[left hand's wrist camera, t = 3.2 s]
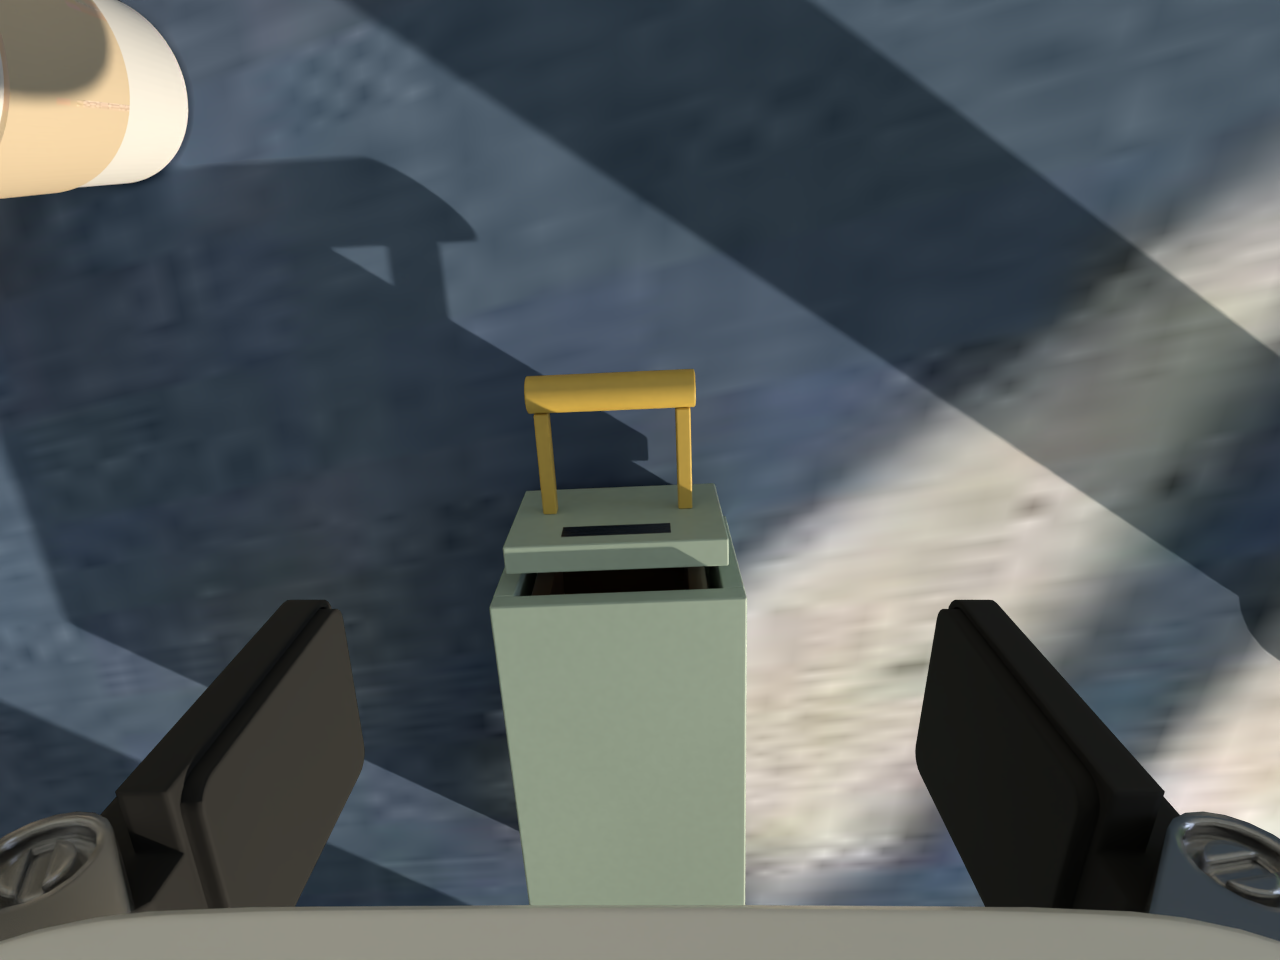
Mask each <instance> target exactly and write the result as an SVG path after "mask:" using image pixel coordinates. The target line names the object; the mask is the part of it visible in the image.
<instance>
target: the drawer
mask: <svg viewBox="0 0 1280 960" xmlns="http://www.w3.org/2000/svg"><path fill="white" fill-rule="evenodd" d="M524 396H525V405H526V409H527V412H528V413H529V414H534V426H535V436H536V446H537V456H538V466H539V476H540V486H541V491H526V493H525V495H524V497H523V500H522V502H521V505H520V507H519V510H518V512H517V515H516V517H515V519H514V522H513V524H512V527H511V529H510V532H509V534H508V536H507V539H506V541H505V544H504V546H503V554H504V562H505V571H506V574H520V573H538V574H537V577H536V581H535V584H534V588H533V591H532V595H531V596H538V595H564V594H590V593H616V592H642V591H668V590H694V589H708V584H707V578H706V572H705V566H725V565H728V564H729V539H728V535H727V531H726V527H725V523H724V519H723V515H722V511H721V507H720V504H719V500H718V496H717V492H716V488H715V484H713V483H710V484H692V463H691V418H690V407H694V406H695V403H696V387H695V373H694V369H680V370H657V371H635V372H612V373H590V374H567V375H545V376H527V377H526V378H525V383H524ZM652 408H675V421H676V454H677V485H662V486H638V487H613V488H589V489H565V490H557V489H556V478H555V467H554V456H553V446H552V435H551V424H550V413H560V412H583V411H606V410H629V409H652Z"/></svg>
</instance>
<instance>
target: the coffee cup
mask: <svg viewBox="0 0 1280 960" xmlns="http://www.w3.org/2000/svg"><path fill="white" fill-rule="evenodd" d="M187 120H188V99H187V92H186V86H185V82H184V78H183V75H182V72H181V70H180V67H179V65H178V62H177V60H176V58H175V56H174V54H173V52H172V51H171V49H170V47H169V46H168V44H167V43H166V41H165V40H164V39H163V37H162V36H161V35H160V33H159V32H158V31H157V30H156V29H155V28H154V27H153V25H152V24H151V23H150V22H148V21H147V20H146V19H145V18H144V17H143V16H142V15H140V14H139V13H138V12H137V11H135V10H134V9H132V8H131V7H129V6H127V5H126V4H124V3H122V2H120V1H118V0H0V199H2V198H11V197H21V196H31V195H41V194H50V193H59V192H64V191H68V190H72V189H75V188H77V187H89V186H101V185H112V184H124V183H133V182H137V181H141V180H144V179H146V178H149V177H151V176H153V175H155V174H156V173H158V172H159V171H160V170H162V169H163V168H164V167H165V166H166V165H167V164H168V163H169V162H170V161H171V160H172V159H173V157H174V156H175V154H176V153H177V151H178V149H179V147H180V145H181V143H182V141H183V138H184V135H185V131H186V127H187Z"/></svg>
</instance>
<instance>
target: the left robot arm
mask: <svg viewBox="0 0 1280 960" xmlns="http://www.w3.org/2000/svg"><path fill="white" fill-rule="evenodd" d="M364 751H365V750H364V742H363V736H362V730H361V724H360V718H359V712H358V706H357V700H356V694H355V688H354V682H353V676H352V670H351V664H350V658H349V652H348V646H347V640H346V634H345V628H344V622H343V617H342V614H341V612H340V610H338V609H331V606H330V604H329V602H328V601H326V600H287V601H286V602H284V603H283V604H282V605H281V606H280V607H279V609H278V610H277V611H276V612H275V613H274V614H273V615H272V616H271V618H270V619H269V620H268V621H267V622H266V623H265V624H264V625H263V626H262V628H261V629H260V630H259V631H258V632H257V633H256V634H255V635H254V637H253V638H252V639H251V640H250V641H249V642H248V643H247V644H246V646H245V647H244V648H243V649H242V650H241V651H240V652H239V653H238V655H237V656H236V657H235V658H234V659H233V660H232V661H231V662H230V664H229V665H228V666H227V667H226V668H225V669H224V670H223V671H222V673H221V674H220V675H219V676H218V677H217V678H216V679H215V680H214V681H213V683H212V684H211V685H210V686H209V687H208V688H207V689H206V690H205V692H204V693H203V694H202V695H201V696H200V697H199V698H198V699H197V701H196V702H195V703H194V704H193V705H192V706H191V707H190V708H189V710H188V711H187V712H186V713H185V714H184V715H183V716H182V717H181V719H180V720H179V721H178V722H177V723H176V724H175V725H174V726H173V728H172V729H171V730H170V731H169V732H168V733H167V734H166V735H165V736H164V738H163V739H162V740H161V741H160V742H159V743H158V744H157V745H156V747H155V748H154V749H153V750H152V751H151V752H150V753H149V754H148V756H147V757H146V758H145V759H144V760H143V761H142V762H141V763H140V765H139V766H138V767H137V768H136V769H135V770H134V771H133V772H132V774H131V775H130V776H129V777H128V778H127V779H126V780H125V781H124V782H123V784H122V785H121V786H120V787H119V788H118V789H117V790H116V791H115V793H116V796H117V797H116V798H115V799H114V800H113V801H112V802H111V803H110V805H109V806H108V807H107V808H106V809H105V810H104V811H103V813H102V814H101V815H98V814H96V813H89V812H71V813H65V814H58V815H54V816H51V817H48V818H44V819H41V820H38V821H35V822H32V823H30V824H28V825H26V826H24V827H22V828H19V829H17V830H15V831H13V832H11V833H9V834H7V835H5V836H4V837H2V838H1V839H0V960H1280V839H1279V838H1278V837H1276V836H1275V835H1273V834H1271V833H1269V832H1267V831H1265V830H1263V829H1261V828H1258V827H1256V826H1254V825H1252V824H1250V823H1248V822H1245V821H1242V820H1239V819H1236V818H1232V817H1229V816H1226V815H1222V814H1215V813H1209V812H1191V813H1184V814H1182V815H1179V814H1178V813H1177V811H1176V810H1175V809H1174V808H1173V807H1172V806H1171V805H1170V803H1169V802H1168V801H1167V800H1166V799H1165V798H1164V797H1163V796H1164V793H1165V791H1164V790H1163V789H1162V788H1161V787H1160V786H1159V785H1158V784H1157V783H1156V781H1155V780H1154V779H1153V778H1152V777H1151V776H1150V775H1149V774H1148V772H1147V771H1146V770H1145V769H1144V768H1143V767H1142V766H1141V765H1140V763H1139V762H1138V761H1137V760H1136V759H1135V758H1134V757H1133V756H1132V754H1131V753H1130V752H1129V751H1128V750H1127V749H1126V748H1125V747H1124V745H1123V744H1122V743H1121V742H1120V741H1119V740H1118V739H1117V738H1116V736H1115V735H1114V734H1113V733H1112V732H1111V731H1110V730H1109V729H1108V728H1107V726H1106V725H1105V724H1104V723H1103V722H1102V721H1101V720H1100V719H1099V717H1098V716H1097V715H1096V714H1095V713H1094V712H1093V711H1092V710H1091V708H1090V707H1089V706H1088V705H1087V704H1086V703H1085V702H1084V701H1083V699H1082V698H1081V697H1080V696H1079V695H1078V694H1077V693H1076V692H1075V690H1074V689H1073V688H1072V687H1071V686H1070V685H1069V684H1068V683H1067V681H1066V680H1065V679H1064V678H1063V677H1062V676H1061V675H1060V674H1059V673H1058V671H1057V670H1056V669H1055V668H1054V667H1053V666H1052V665H1051V664H1050V662H1049V661H1048V660H1047V659H1046V658H1045V657H1044V656H1043V655H1042V653H1041V652H1040V651H1039V650H1038V649H1037V648H1036V647H1035V646H1034V644H1033V643H1032V642H1031V641H1030V640H1029V639H1028V638H1027V637H1026V635H1025V634H1024V633H1023V632H1022V631H1021V630H1020V629H1019V628H1018V626H1017V625H1016V624H1015V623H1014V622H1013V621H1012V620H1011V619H1010V618H1009V616H1008V615H1007V614H1006V613H1005V612H1004V611H1003V610H1002V609H1001V607H1000V606H999V605H998V604H997V603H996V602H994V601H993V600H954V601H952V602H951V604H950V606H949V609H942V610H940V612H939V614H938V617H937V622H936V628H935V634H934V640H933V646H932V652H931V658H930V664H929V670H928V676H927V682H926V688H925V694H924V700H923V706H922V712H921V718H920V724H919V730H918V736H917V742H916V750H915V751H916V762H917V766H918V770H919V772H920V775H921V777H922V779H923V781H924V783H925V785H926V787H927V789H928V791H929V793H930V795H931V797H932V799H933V801H934V803H935V805H936V807H937V809H938V811H939V813H940V815H941V818H942V820H943V822H944V824H945V826H946V828H947V830H948V832H949V834H950V836H951V838H952V840H953V842H954V844H955V846H956V848H957V850H958V852H959V854H960V856H961V858H962V860H963V862H964V864H965V866H966V868H967V871H968V873H969V875H970V877H971V879H972V881H973V883H974V885H975V887H976V889H977V891H978V893H979V895H980V897H981V899H982V901H983V903H984V905H985V907H944V906H781V905H499V906H335V907H295V905H296V903H297V901H298V899H299V897H300V895H301V893H302V891H303V889H304V887H305V885H306V883H307V881H308V879H309V877H310V875H311V873H312V871H313V868H314V866H315V864H316V862H317V860H318V858H319V856H320V854H321V852H322V850H323V848H324V846H325V844H326V842H327V840H328V838H329V836H330V834H331V832H332V830H333V828H334V826H335V824H336V822H337V820H338V817H339V815H340V813H341V811H342V809H343V807H344V805H345V803H346V801H347V799H348V797H349V795H350V793H351V791H352V789H353V787H354V785H355V783H356V781H357V779H358V777H359V775H360V772H361V770H362V766H363V762H364Z"/></svg>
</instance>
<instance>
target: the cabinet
mask: <svg viewBox="0 0 1280 960" xmlns="http://www.w3.org/2000/svg"><path fill="white" fill-rule="evenodd" d="M723 519H724V523H725V527H726V531H727V535H728V539H729V564H728V565H725V566H705V572H706V578H707V584H708V589H694V590H668V591H642V592H616V593H590V594H564V595H538V596H531V595H532V591H533V588H534V584H535V581H536V577H537V574H538V573H520V574H506V571H505V568H504V570H503V573H502V575H501V578H500V581H499V583H498V586H497V588H496V591H495V594H494V596H493V600H492V602H491V605H490V608H489V610H490V617H491V625H492V632H493V640H494V647H495V654H496V662H497V669H498V676H499V684H500V691H501V699H502V706H503V713H504V721H505V728H506V735H507V743H508V750H509V758H510V765H511V772H512V780H513V787H514V794H515V802H516V809H517V817H518V824H519V831H520V839H521V846H522V853H523V861H524V868H525V876H526V883H527V890H528V898H529V905H745V819H746V665H747V597H746V593H745V589H744V585H743V581H742V578H741V574H740V570H739V566H738V562H737V559H736V555H735V551H734V547H733V544H732V540H731V536H730V532H729V528H728V525H727V520H726V517H725V516H723Z"/></svg>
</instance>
